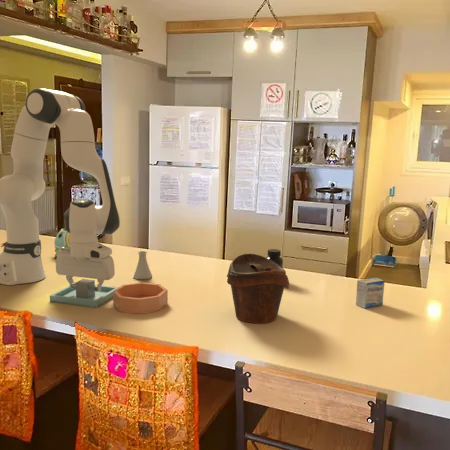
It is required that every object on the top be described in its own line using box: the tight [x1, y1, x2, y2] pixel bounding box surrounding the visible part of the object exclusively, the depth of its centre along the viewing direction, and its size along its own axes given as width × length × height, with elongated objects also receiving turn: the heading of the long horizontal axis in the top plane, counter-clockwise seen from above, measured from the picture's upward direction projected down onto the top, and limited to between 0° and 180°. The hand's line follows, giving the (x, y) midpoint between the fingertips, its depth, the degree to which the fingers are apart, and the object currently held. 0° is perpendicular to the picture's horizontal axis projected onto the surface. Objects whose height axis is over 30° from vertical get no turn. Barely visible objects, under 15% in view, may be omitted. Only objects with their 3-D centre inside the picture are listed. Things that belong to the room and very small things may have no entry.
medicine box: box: [355, 277, 385, 310], centre depth 163 cm, size 8×4×9 cm, turn 117°
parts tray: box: [49, 284, 119, 308], centre depth 166 cm, size 17×15×2 cm
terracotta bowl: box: [112, 282, 169, 315], centre depth 160 cm, size 16×16×5 cm
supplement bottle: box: [265, 248, 284, 269], centre depth 187 cm, size 7×7×12 cm
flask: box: [132, 250, 153, 280], centre depth 188 cm, size 7×7×10 cm
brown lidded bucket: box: [226, 253, 290, 325], centre depth 150 cm, size 18×20×18 cm
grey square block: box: [76, 278, 96, 299], centre depth 165 cm, size 4×4×5 cm
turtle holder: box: [54, 228, 71, 257], centre depth 216 cm, size 12×18×12 cm
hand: (85, 289), depth 165 cm, fingers open, 8 cm apart
